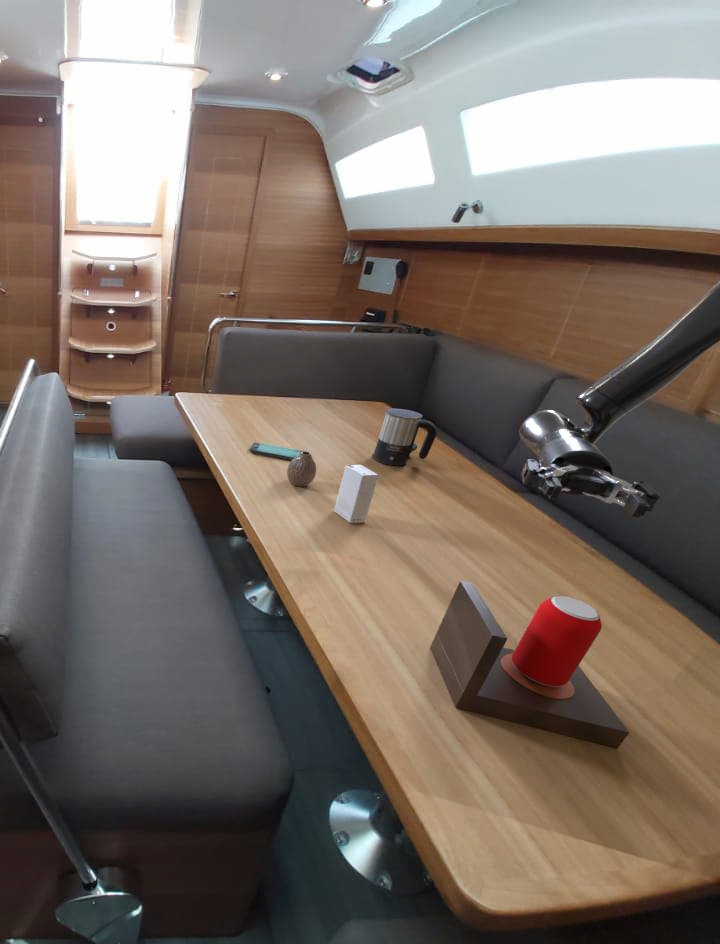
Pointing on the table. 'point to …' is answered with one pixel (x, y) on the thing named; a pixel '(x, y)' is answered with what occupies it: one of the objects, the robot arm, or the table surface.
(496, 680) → the bookend
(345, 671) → the table surface
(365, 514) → the cosmetic box
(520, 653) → the beverage can
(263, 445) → the smartphone
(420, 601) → the table surface
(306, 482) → the vase
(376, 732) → the table surface
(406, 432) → the milk frother
